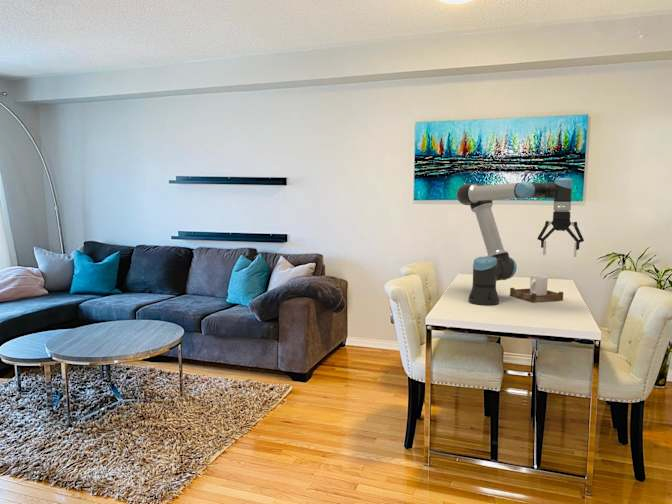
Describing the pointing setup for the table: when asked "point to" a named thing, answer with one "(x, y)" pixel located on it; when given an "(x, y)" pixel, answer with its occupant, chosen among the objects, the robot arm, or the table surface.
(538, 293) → the mug
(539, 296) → the wooden tray
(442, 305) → the table surface
